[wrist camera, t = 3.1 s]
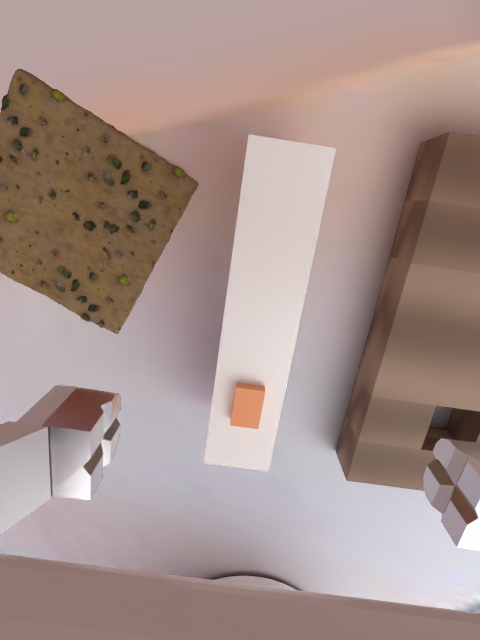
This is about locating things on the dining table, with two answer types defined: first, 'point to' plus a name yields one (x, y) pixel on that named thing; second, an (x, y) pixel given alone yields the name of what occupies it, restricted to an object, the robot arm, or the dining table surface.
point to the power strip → (265, 296)
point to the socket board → (422, 326)
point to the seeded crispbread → (81, 204)
